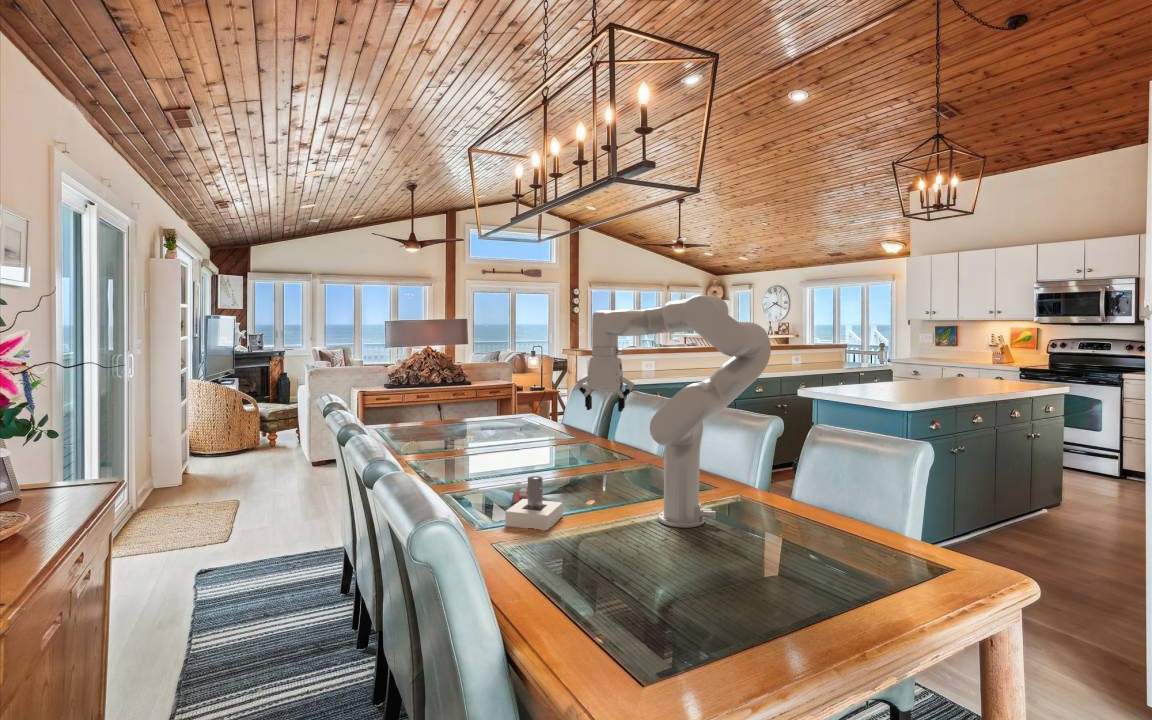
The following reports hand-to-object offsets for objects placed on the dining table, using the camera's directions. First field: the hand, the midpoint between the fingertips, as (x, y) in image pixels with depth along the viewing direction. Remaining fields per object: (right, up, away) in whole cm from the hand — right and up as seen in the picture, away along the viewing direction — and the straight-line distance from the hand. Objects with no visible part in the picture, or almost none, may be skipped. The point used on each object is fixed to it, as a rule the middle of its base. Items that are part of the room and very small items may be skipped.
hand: (604, 410), depth 177 cm
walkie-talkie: (-23, -29, +4) cm, 37 cm away
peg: (-20, -29, -14) cm, 38 cm away
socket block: (-20, -29, -14) cm, 38 cm away
